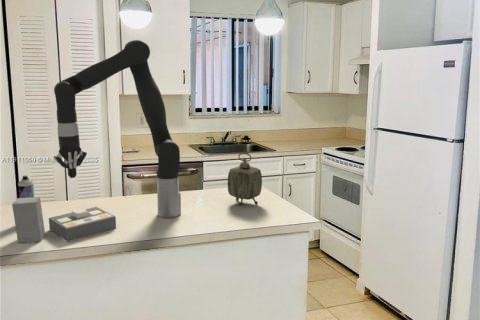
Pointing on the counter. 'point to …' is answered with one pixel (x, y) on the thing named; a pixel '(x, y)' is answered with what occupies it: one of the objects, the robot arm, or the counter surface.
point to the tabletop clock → (244, 181)
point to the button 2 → (95, 212)
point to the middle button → (79, 213)
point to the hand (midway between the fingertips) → (72, 177)
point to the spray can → (26, 188)
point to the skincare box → (28, 219)
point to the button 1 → (63, 220)
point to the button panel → (82, 225)
